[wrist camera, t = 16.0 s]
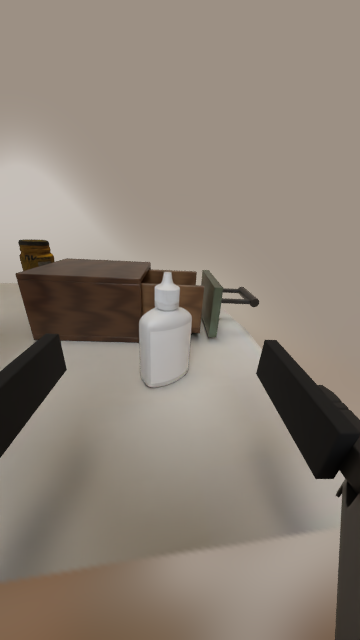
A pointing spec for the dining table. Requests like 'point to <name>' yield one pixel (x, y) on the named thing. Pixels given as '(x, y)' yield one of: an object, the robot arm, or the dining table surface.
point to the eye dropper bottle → (164, 337)
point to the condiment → (34, 253)
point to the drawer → (194, 297)
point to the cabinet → (84, 299)
